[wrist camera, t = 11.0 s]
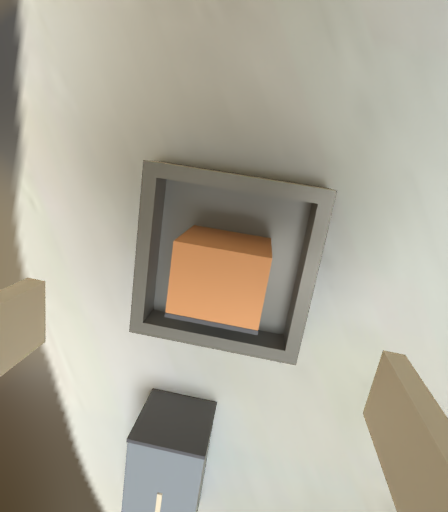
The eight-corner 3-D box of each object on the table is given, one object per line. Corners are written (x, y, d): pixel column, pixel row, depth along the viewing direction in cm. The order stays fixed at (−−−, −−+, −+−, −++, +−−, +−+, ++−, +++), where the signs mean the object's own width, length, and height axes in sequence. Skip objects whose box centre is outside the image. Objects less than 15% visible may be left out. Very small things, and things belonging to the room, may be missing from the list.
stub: (193, 224, 26) (173, 241, 20) (271, 238, 26) (272, 258, 20) (186, 285, 27) (164, 317, 22) (259, 299, 27) (257, 335, 21)
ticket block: (152, 388, 31) (126, 439, 26) (216, 402, 31) (205, 457, 25) (142, 488, 35) (116, 553, 29) (199, 501, 34) (185, 571, 28)
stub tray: (159, 161, 26) (143, 160, 23) (327, 188, 25) (337, 191, 22) (144, 313, 30) (129, 331, 26) (292, 342, 29) (295, 365, 25)
